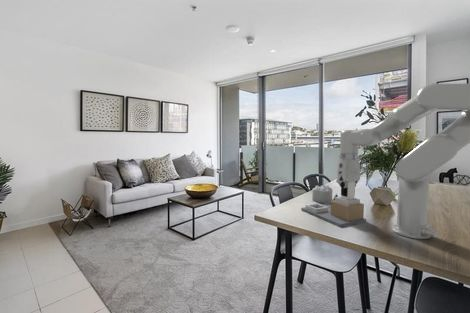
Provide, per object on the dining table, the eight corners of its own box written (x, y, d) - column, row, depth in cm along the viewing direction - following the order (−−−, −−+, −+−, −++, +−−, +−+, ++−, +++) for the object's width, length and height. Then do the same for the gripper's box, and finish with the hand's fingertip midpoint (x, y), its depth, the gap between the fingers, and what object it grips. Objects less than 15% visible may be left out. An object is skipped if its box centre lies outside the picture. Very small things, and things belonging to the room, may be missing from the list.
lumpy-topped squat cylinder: (310, 200, 145) (310, 186, 144) (319, 196, 155) (319, 183, 154) (326, 203, 138) (327, 189, 137) (335, 199, 147) (335, 185, 147)
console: (366, 221, 108) (367, 200, 108) (340, 227, 102) (340, 204, 101) (324, 206, 132) (324, 189, 131) (301, 210, 126) (301, 191, 125)
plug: (354, 202, 110) (354, 181, 110) (348, 203, 109) (348, 182, 108) (345, 200, 115) (346, 179, 114) (339, 200, 113) (340, 180, 113)
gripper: (341, 158, 103) (340, 199, 105) (368, 156, 110) (367, 195, 111) (328, 156, 110) (328, 195, 112) (354, 155, 117) (353, 192, 118)
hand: (347, 195), depth 111 cm, fingers closed on plug, 4 cm apart
